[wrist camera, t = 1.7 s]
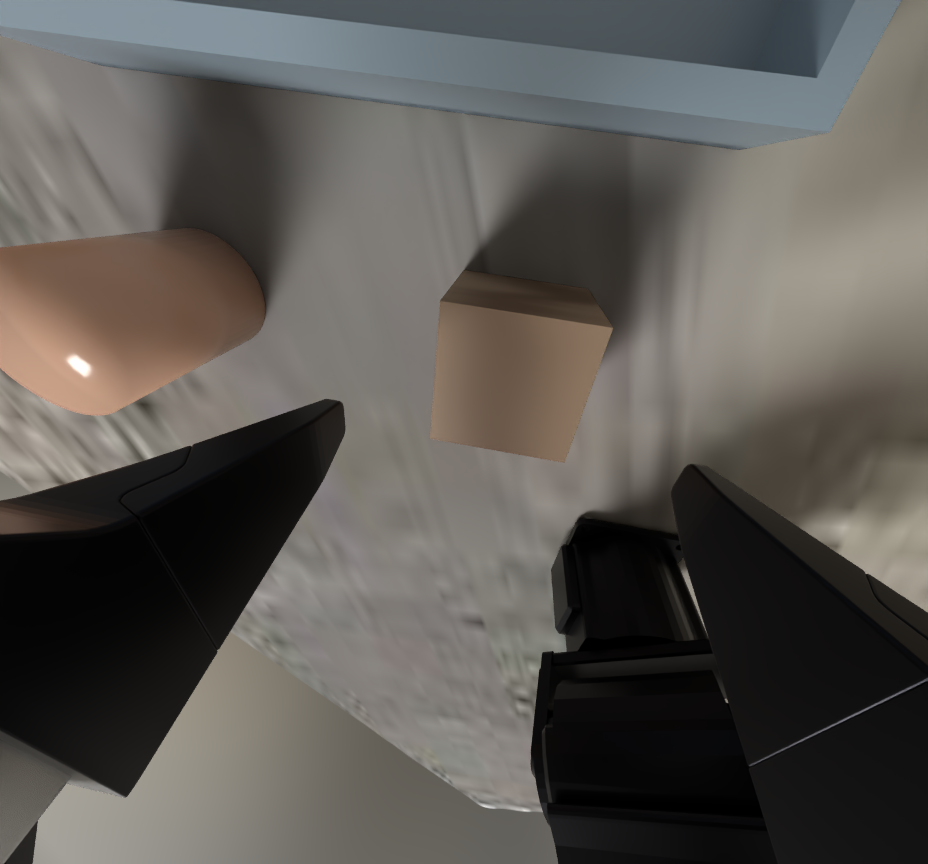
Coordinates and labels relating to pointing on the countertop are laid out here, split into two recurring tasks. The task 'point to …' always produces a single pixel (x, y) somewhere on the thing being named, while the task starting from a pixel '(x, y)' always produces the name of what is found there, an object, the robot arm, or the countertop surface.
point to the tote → (504, 56)
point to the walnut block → (515, 363)
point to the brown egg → (121, 314)
